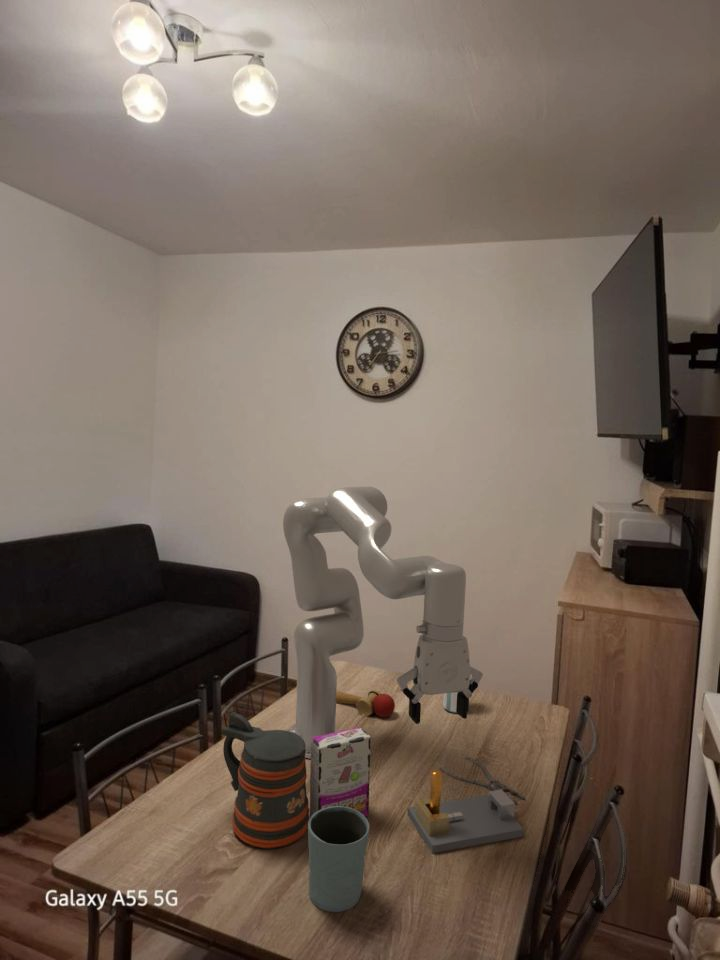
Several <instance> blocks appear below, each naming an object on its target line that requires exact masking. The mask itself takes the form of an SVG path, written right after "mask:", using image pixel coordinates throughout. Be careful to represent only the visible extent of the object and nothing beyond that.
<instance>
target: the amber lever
mask: <svg viewBox="0 0 720 960" xmlns="http://www.w3.org/2000/svg"><path fill="white" fill-rule="evenodd" d="M430 771H431V772H430V774H431V775H430V792H429V796H430V797H429V798H430V812H431V814H432V815H433V814H440V802H442V801H441V798H442V797H441V794H442V779H443V778H442V777H443V774H442V773H443V771H442V770H441V769H437V768H434V769H432V770H430ZM447 815H448V816H449V817H450V818H449V822H450V821H453V820H454V821H456V820H461V819H463V815H462V813H461V812H458V813H452V814H447Z"/></svg>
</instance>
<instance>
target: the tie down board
mask: <svg viewBox="0 0 720 960" xmlns="http://www.w3.org/2000/svg"><path fill="white" fill-rule="evenodd" d="M415 810H416V805H415V806H408V807H407V817H408V819H409V820H410V821H411V823H412V824H413V825H414V827H415V829H416V830H417V832H418V834H419V835H420V837H421V839H423V841H424V843H425V844H426V846H427V848H428V849H429V851H430V852H431V854H436V853H441V852H447V851H454V850H458V849H462V848H463V849H465V848H469V847H475V846H479V845H485V844H489V843H496V842H502V841H507V840H513V839H517V838H518V839H519V838H523V837H524V829H525V828H523V826H521V824H520V823H519V822H518V821H517V820H516V818H515V817H514V818H512V819H507V820H501V821H500V819H499V818H498V817H497V813H498V808H495V809H490V808H489V807H488V794H485V795H479V796H478V795H477V796H472V797H466V798H459V799H453V800H452V799H451V800H445V801H440V813H447V814H452V813H458V812H461V813H462V815H463V819H461V820H456V821H454V820H453V821H450V822H449V833H444V834H439V835H433V836H429V835H428V834H427V832H426V831H425V829H424V827H423V826H422V824H421V823H420V821H419V820H418V818H417V817H416V815H415Z"/></svg>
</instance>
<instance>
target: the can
mask: <svg viewBox="0 0 720 960" xmlns="http://www.w3.org/2000/svg"><path fill="white" fill-rule="evenodd" d="M457 694H458V692H454V693H444V694H443V700H442V701H443V703H442V705H443V706H442V707H443V708H444V709H445V710H446V711H447V712H449V713H453V714H458V713H457V712H456V707H457Z"/></svg>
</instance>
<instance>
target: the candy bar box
mask: <svg viewBox="0 0 720 960" xmlns="http://www.w3.org/2000/svg"><path fill="white" fill-rule="evenodd" d="M371 737H372V736H370V735H369V734H368V733H367V731H365V730H364V729H363V727H360V726H359V727H354V728H350V729H349V728H348V729H344V730H340V731H335V733H330V734H326V735H321V736H317V737H312V738H311V759H310V766H309V767H310V770H309V771H310V773H309V774H310V777H309V787H310V788H309V819H310V818H311V816H312V815H313V814H314V813H315V812H317V811H319V810H321V809H323V808H326V807H332V806H343V807H348V808H352V809H354V810H357V811H358V812H360V813H361V814H363V815H364V816H365V817H367V816H369V814H370V813H369V810H370V773H371V772H370V771H371V766H370V765H371Z"/></svg>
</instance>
